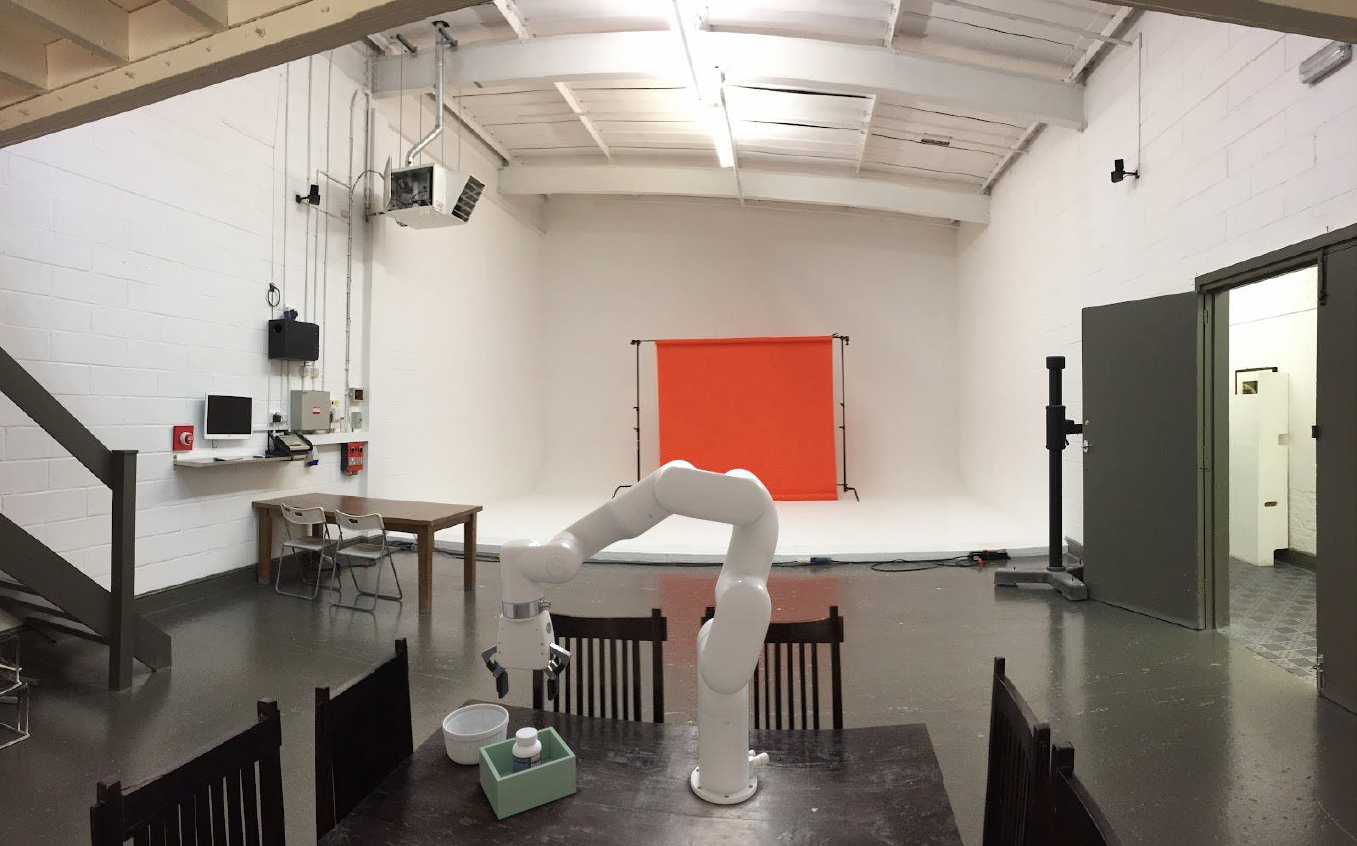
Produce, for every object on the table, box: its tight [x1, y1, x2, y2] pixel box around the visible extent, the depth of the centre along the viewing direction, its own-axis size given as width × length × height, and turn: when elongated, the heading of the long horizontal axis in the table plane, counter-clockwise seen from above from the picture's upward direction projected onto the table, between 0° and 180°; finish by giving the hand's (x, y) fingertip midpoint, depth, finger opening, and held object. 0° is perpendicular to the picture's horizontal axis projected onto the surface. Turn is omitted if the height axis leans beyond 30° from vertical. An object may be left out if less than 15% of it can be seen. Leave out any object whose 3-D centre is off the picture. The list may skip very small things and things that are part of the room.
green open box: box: [479, 726, 577, 820], centre depth 123 cm, size 15×13×7 cm
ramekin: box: [441, 703, 510, 766], centre depth 136 cm, size 13×13×7 cm
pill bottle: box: [512, 727, 542, 774], centre depth 123 cm, size 5×5×10 cm
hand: (527, 696), depth 123 cm, fingers open, 9 cm apart
